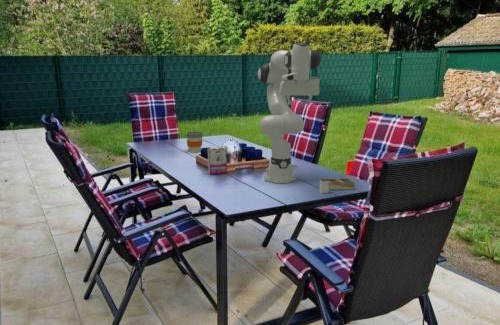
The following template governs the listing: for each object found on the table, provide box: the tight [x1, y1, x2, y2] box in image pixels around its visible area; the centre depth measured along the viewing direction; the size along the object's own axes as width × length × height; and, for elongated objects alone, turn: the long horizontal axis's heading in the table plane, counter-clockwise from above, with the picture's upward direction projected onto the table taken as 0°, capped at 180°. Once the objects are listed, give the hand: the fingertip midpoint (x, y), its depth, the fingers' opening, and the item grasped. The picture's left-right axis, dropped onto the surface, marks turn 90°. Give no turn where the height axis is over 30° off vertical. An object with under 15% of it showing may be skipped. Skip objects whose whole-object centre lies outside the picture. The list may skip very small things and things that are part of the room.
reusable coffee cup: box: [185, 131, 204, 154], centre depth 339 cm, size 13×13×15 cm
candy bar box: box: [207, 146, 228, 176], centre depth 273 cm, size 11×5×16 cm, turn 112°
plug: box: [319, 176, 330, 194], centre depth 237 cm, size 4×4×8 cm
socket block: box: [328, 177, 356, 191], centre depth 246 cm, size 9×14×4 cm, turn 101°
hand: (299, 104), depth 220 cm, fingers open, 8 cm apart
